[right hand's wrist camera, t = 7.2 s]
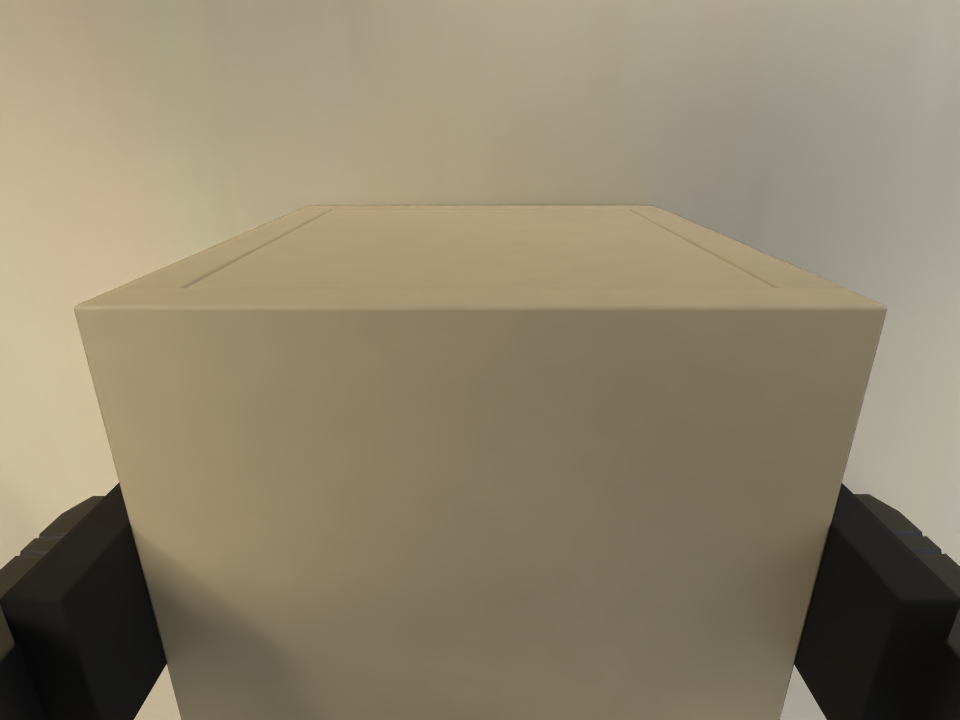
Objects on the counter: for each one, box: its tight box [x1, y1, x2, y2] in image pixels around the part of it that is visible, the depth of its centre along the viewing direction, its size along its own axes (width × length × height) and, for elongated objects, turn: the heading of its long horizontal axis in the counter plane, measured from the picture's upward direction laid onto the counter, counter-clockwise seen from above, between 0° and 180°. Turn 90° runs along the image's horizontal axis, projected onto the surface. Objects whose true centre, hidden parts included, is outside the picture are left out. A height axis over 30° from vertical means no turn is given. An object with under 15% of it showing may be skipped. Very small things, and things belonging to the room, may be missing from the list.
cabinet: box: [74, 205, 887, 720], centre depth 15 cm, size 16×10×10 cm, turn 0°
